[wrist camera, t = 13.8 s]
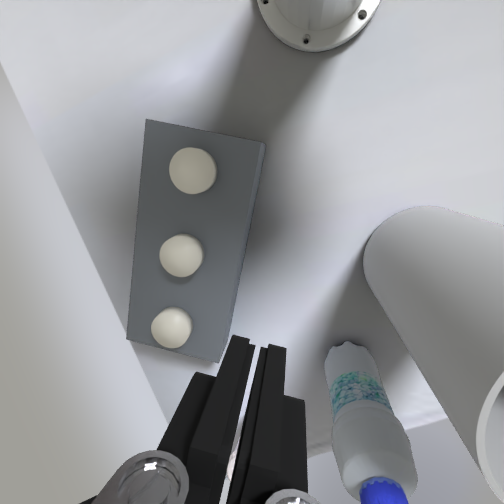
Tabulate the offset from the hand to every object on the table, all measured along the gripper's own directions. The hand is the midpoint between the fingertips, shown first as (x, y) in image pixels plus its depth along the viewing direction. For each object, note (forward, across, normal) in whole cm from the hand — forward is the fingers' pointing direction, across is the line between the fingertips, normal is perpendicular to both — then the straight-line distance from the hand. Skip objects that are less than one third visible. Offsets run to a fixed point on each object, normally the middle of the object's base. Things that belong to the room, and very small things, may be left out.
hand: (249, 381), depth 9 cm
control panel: (+29, +10, +5) cm, 31 cm away
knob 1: (+28, +10, +14) cm, 33 cm away
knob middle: (+28, +10, +5) cm, 31 cm away
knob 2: (+28, +10, -4) cm, 30 cm away
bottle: (+29, -12, +16) cm, 35 cm away
